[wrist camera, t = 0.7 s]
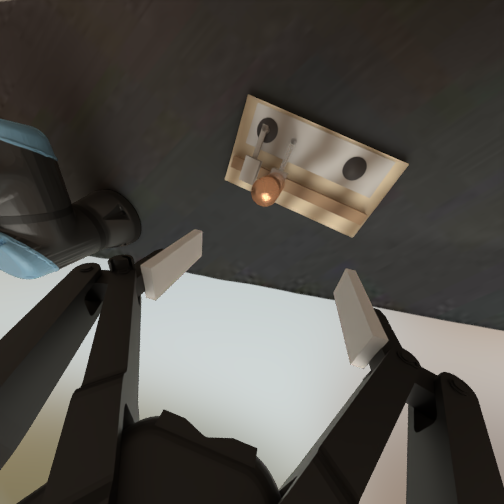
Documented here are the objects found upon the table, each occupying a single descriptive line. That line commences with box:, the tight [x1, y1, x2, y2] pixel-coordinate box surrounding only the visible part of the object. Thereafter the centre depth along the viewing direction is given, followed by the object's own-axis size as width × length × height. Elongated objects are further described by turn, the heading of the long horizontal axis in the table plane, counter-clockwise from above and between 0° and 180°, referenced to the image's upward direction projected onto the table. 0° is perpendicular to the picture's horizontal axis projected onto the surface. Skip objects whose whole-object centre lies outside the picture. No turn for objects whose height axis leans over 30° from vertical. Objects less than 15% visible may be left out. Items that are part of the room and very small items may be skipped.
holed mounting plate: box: [225, 94, 409, 238], centre depth 31 cm, size 28×14×5 cm, turn 69°
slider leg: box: [251, 137, 297, 206], centre depth 26 cm, size 3×9×13 cm, turn 159°
